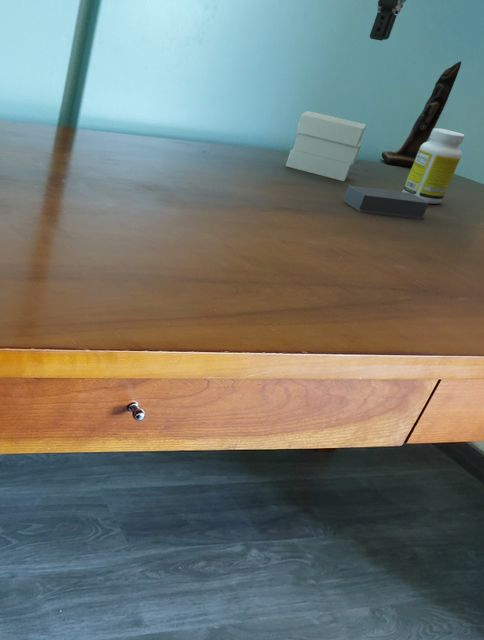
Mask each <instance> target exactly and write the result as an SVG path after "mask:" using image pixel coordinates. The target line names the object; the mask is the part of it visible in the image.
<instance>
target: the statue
mask: <svg viewBox="0 0 484 640" xmlns="http://www.w3.org/2000/svg"><path fill="white" fill-rule="evenodd" d="M461 65H462V61H461V60H460V61H457V62H456V63H454V64H453V65H452V66H450V67H448V68H446V69H445V70H444V71H443V72H442V74H440V76H439V78H438V79H437V80H436V82H435V85H434V87H433V90H432V93H431V95H430V97H429V98H428V100H427V101H426V103H425V104H424V107H423V109H422V111H421V113H420V114H419V115H418V117H417V119H416V120H415V122H414V124H413V126H412V128H411V130H410V133H409V135H408V136H407V138H406V140H405V141H404V142H403V145H402V146H401V147H400V148H399V149H397V150H396V151H389V150H387V151H386V150H385V151H382V153H381V157H382V160H384V162H385V163H387V164H390V165H394V166H400V167H408V168H412V166H413V164H414V161H415V159H416V156H417V154H418V151H419V149H420V147H421V145H422V144H423V143H425V142H428V140H429V139H430V135H431V132H432V130H433V129H434V128H436V125H437V123H438V122H439V119H440V117H441V115H442V114H443V111H444V109H445V107H446V104H447V102H448V101H449V98H450V94H451V92H452V89H453V87H454V85H455V82H456V81H457V80H456V79H457V77H458V74H459V72H460V69H461Z"/></svg>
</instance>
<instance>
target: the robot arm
mask: <svg viewBox="0 0 484 640" xmlns="http://www.w3.org/2000/svg"><path fill="white" fill-rule="evenodd" d="M406 1H407V0H377V7H376V8H377V9H376V10H377V11H376V12H377V13H376V16H375V18H374V22H373V25H372V26H371V27H372V28H371V30H370V34H369V39H371V40H376V41H385V40H388V39H389V38H390V36H391V34H392V30H393V27H394V24H395V23H396V19H397V16H398V15H399V13H401V10H402V8H403V6H404V3H406Z"/></svg>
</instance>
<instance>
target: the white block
mask: <svg viewBox="0 0 484 640" xmlns="http://www.w3.org/2000/svg"><path fill="white" fill-rule="evenodd" d="M366 127H367V124H366V123H363V122H358V121H353V120H349V119H345V118H341V117H337V116H332V115H327V114H324V113H319V112H315V111H311V110H306V111H304V112H303V113H302V114H301V116H300V118H299V122H298V125H297V128H296V131H295V133H302V134H306V135H310V136H314V137H318V138H322V139H326V140H330V141H335V142H339V143H343V144H347V145H351V146H355V147H357V145H358V144H359V143H361V141H362V138H363V135H364V133H365V130H366Z"/></svg>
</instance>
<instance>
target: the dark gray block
mask: <svg viewBox="0 0 484 640" xmlns="http://www.w3.org/2000/svg"><path fill="white" fill-rule="evenodd" d="M343 199H344V203H346V204H347V205H348V206H350V207H352V208H353V209H355V210H357V211H358V212H360V213H367V214H375V215H381V216H382V215H383V216H384V215H385V216H390V217H391V216H392V217H400V218H401V217H402V218H408V219H416V220H425V219H426V218H425V217H426V216H425V214H426V211H427V209H428V206H429V203H428V202H426V201H424V200H423V199H421V198H419V197H417V196H415V195H414V194H412V193H406V192H402V191H398V190H389V189H381V188H373V187H364V186H357V185H348V187H347V190H346V192H345V195H344V197H343Z"/></svg>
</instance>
